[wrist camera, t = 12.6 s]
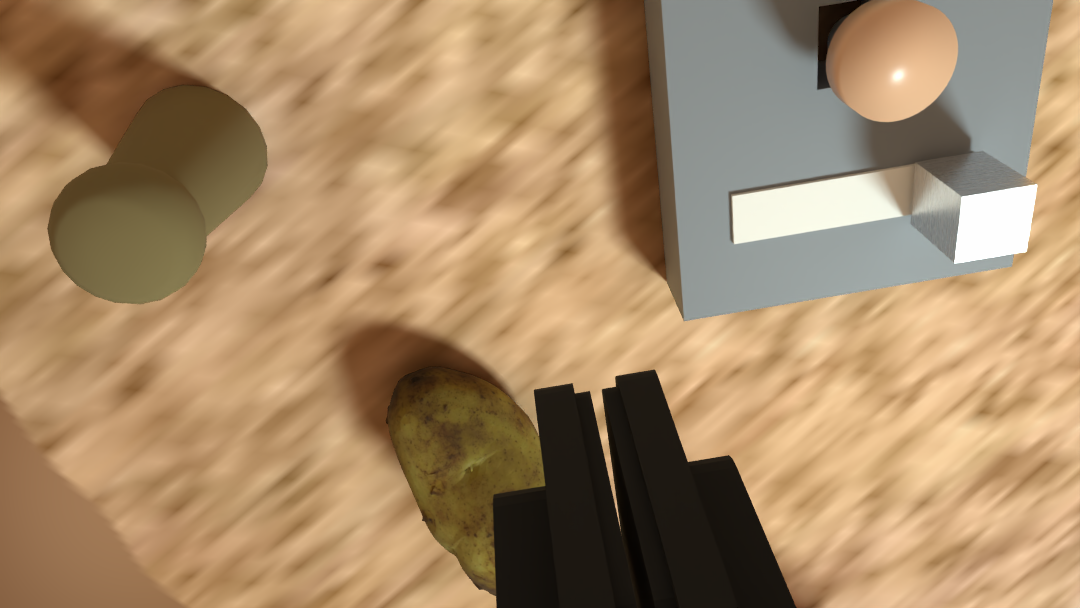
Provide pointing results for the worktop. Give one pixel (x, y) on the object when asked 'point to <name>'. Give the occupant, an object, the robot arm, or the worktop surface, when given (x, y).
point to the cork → (158, 196)
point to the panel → (815, 149)
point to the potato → (462, 459)
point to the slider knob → (972, 206)
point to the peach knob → (891, 58)
